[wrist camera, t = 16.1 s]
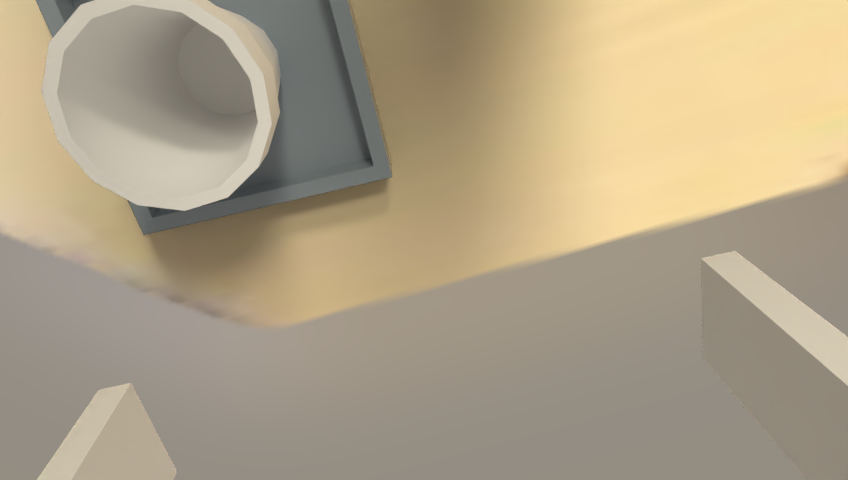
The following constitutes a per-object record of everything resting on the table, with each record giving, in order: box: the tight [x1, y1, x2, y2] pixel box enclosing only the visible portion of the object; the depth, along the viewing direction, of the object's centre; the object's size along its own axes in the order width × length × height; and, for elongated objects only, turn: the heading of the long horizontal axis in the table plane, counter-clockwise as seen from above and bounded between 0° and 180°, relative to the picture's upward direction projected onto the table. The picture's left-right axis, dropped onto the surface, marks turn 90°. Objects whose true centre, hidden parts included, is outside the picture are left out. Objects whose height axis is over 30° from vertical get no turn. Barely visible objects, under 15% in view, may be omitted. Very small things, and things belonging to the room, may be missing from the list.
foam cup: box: [42, 0, 281, 211], centre depth 31 cm, size 10×9×13 cm
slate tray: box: [36, 0, 392, 235], centre depth 37 cm, size 17×17×3 cm
